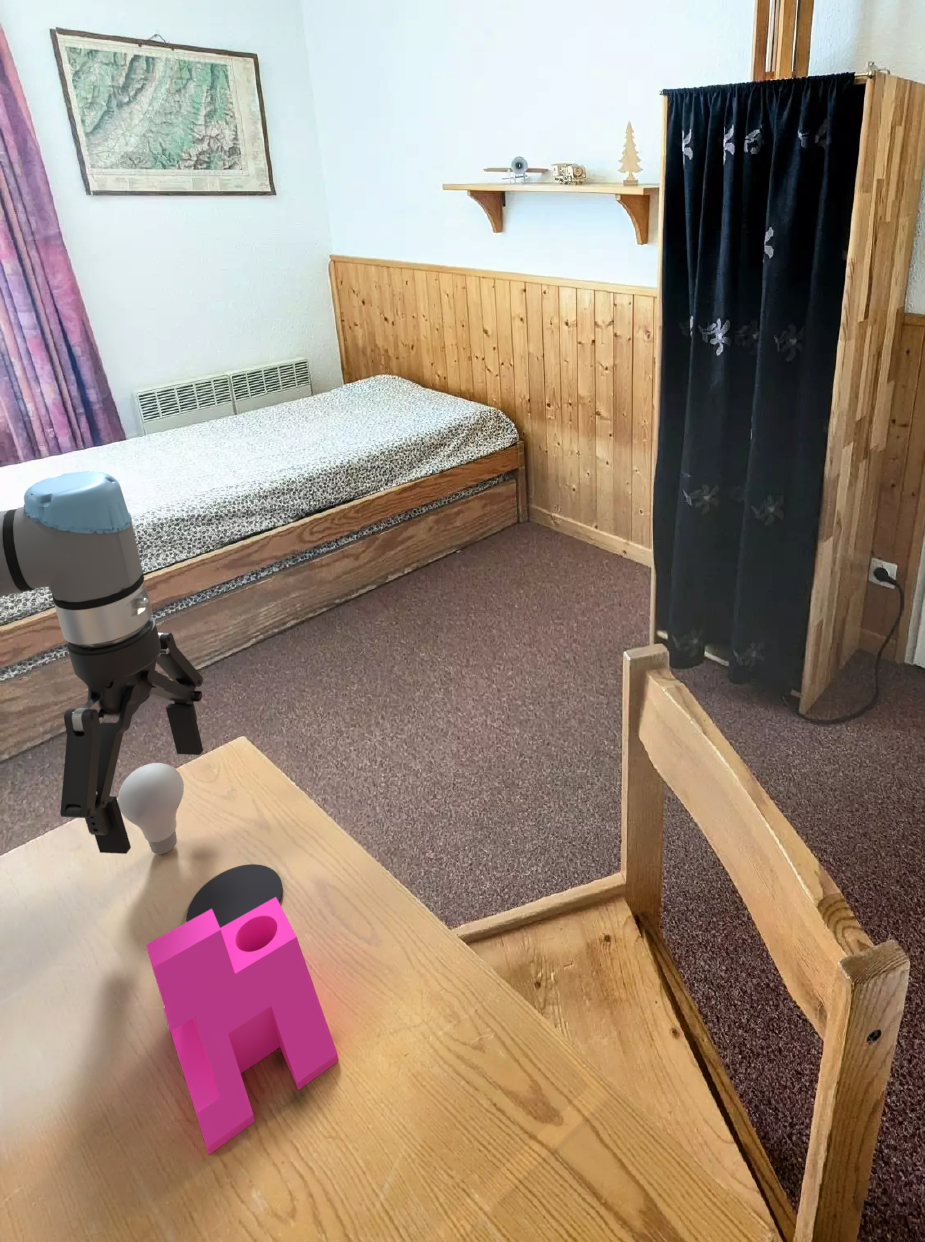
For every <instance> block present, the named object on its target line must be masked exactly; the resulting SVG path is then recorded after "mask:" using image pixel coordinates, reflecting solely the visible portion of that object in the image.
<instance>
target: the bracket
mask: <svg viewBox="0 0 925 1242" xmlns="http://www.w3.org/2000/svg"><path fill="white" fill-rule="evenodd" d="M300 945H301V944H300V941H299V940H298V936H297V934H296V933H295V931H294V928H293V926H292V925H291V923H290V921H289V919H288V917H287V916H286V913H285V912H284V909H283V908H282V905H281V903H280V904H279V902H278V900H277V898H276V897H275V898H273V899H271V900H269V901H268V902H266V903H264V904H262V905H260V906H259V907H257V908H255V909H253V910H251V911H250V912H248V913H246V914H244V915H243V916H241V917H239V918H237V919H235V920H234V921H232V922H230V923H228V924H227V925H225V926H223V927H221V928H220V927H219V924H218V922H217V919H216V917H215V915H214V912H213V910H212V909H210V910H208V911H206V912H205V913H203V914H201V915H199V916H197V917H195V918H194V919H192V920H190V921H188V922H184V923H182V924H181V925H179V926H177V927H175V928H174V929H173V928H172V929H171V930H170V931H168V932H165V933H164V934H162V935H161V936H159V937H157V938H155V939H153V940H151V941H150V942H148V943H146V944H145V947H146V950H147V954H148V958H149V961H150V965H151V967H152V971H153V976H154V978H155V981H156V984H157V988H158V991H159V994H160V997H161V1000H162V1003H163V1011H164V1015H165V1018H166V1023H167V1026H168V1029H169V1033H170V1035H171V1039H172V1043H173V1045H174V1048H175V1051H176V1054H177V1058H178V1061H179V1064H180V1067H181V1071H182V1074H183V1077H184V1080H185V1083H186V1086H187V1089H188V1093H189V1096H190V1099H191V1102H192V1106H193V1109H194V1112H195V1116H196V1118H197V1120H198V1125H199V1128H200V1131H201V1134H202V1137H203V1141H204V1144H205V1147H206V1151H207V1154H208V1155H211V1154H212V1153H214V1152H215V1151H216V1150H218V1149H219V1148H220V1147H222V1146H223V1145H225V1144H227V1142H229V1141H231V1140H232V1139H233V1138H234V1137H236V1136H237V1135H239V1134H240V1133H242V1131H243V1132H244V1130H246V1129H247V1128H248V1127H250V1126H251V1125H252V1124H254V1123H256V1119H255V1115H254V1112H253V1111H254V1110H253V1108H252V1106H251V1102H250V1099H249V1095H248V1093H247V1089H246V1086H245V1083H244V1080H243V1077H242V1074H243V1073H244V1072H246V1071H247V1070H249V1069H250V1068H252V1067H253V1066H255V1064H257V1063H259V1062H261V1060H263V1059H265V1058H266V1057H267V1056H269V1055H270V1054H273V1052H275V1051H276V1050H278V1049H280V1052H281V1053H282V1056H283V1059H284V1061H285V1062H286V1065H287V1067H288V1069H289V1072H290V1074H291V1077H292V1079H293V1081H294V1083H295V1086H296V1088H297V1091H299V1090H301V1089H302V1088H303V1087H305V1086H307V1084H309V1083H310V1082H312V1081H313V1080H315V1079H316V1078H317V1077H318V1076H320V1075H321V1074H323V1073H324V1072H326V1071H327V1070H329V1069H330V1068H331V1067H332V1066H334V1065H335V1064H337V1063H338V1062H339V1054H338V1052H337V1047H336V1046H335V1043H334V1040H333V1037H332V1034H331V1031H330V1028H329V1025H328V1023H327V1020H326V1017H325V1013H324V1011H323V1008H322V1005H321V1003H320V1000H319V996H318V994H317V991H316V988H315V986H314V982H313V979H312V976H311V973H310V971H309V968H308V966H307V963H306V960H305V957H304V953H303V950H302V947H301V946H300Z"/></svg>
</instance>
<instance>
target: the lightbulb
mask: <svg viewBox="0 0 925 1242" xmlns="http://www.w3.org/2000/svg"><path fill="white" fill-rule="evenodd" d="M184 793H185V783H184V780H183V777H182V774H180V772H179V771H178V770H177V769H176V768H175V767H173V766H172V765H169V764H167V763H163V762H152V763H147V764H145V765H142V766H139V767H138V768H136V769H135V770H133V771H131V772H130V774H128V776H127V777H126V778H125V780H124V781H123V782H122V784H121V787H120V789H119V791H118V796H117V801H118V804H119V808H120V811H121V815H122V817H124V819H126V820H127V821H129V822H130V823H132V824H133V825H134V826H136V827H138V828H139V829H140V831H141V832H142V834H143V836H144V839H145V840H146V841H147V842H148V846H149V847H150V851H151V852H152V853H153V854H155V855H162V854H166V853H168V852H170V851H171V850H172V849H174V847H175V846H176V845H177V843H178V842H177V841H178V839H177V838H178V837H177V831H176V829H177V812H178V809H179V807H180V804H181V802H182V799H183V796H184Z"/></svg>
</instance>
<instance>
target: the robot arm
mask: <svg viewBox="0 0 925 1242" xmlns="http://www.w3.org/2000/svg"><path fill="white" fill-rule="evenodd" d="M23 502H24V503H23V506H20V507H17V508H14V509H13V508H12V509H8V510H1V511H0V597H4V596H9V595H13V594H18V593H24V592H30V591H34V590H36V589H41V588H46V587H48V589H49V592H50V593H51V597H52V601H53V605H54V608H55V612H56V616H57V619H58V623H59V627H60V630H61V633H62V637H63V638H64V641H66V649H67V652H68V656H69V659H70V662H71V666H72V669H73V672H74V675H75V676H76V677H77V678H78V679H80V680H81V681H82V682H83V683H84V684H85V685H86V687H87V698H86V699H87V700H86V702H85V703H83V704H82V705H81V706H80V707H79V708H72V707H71V708H67V710H65V712H64V715H63V721H64V722H63V723H64V726H65V727H64V728H65V730H66V743H65V755H64V767H63V777H62V788H61V789H62V790H61V800H60V801H61V802H60V803H61V804H60V811H59V813H60V817H62V818H72V819H84V820H85V823H86V826H87V830H88V832H89V834H90V835H91V836H94V838H95V841H96V844H97V847H98V851H99V853H100V854H103V853H104V854H119V855H121V854H123V855H126V854H128V853H129V851H130V850H131V848H132V846H131V842H130V839H129V835H128V832H127V829H126V826H125V822H124V819H123V814H122V813H121V811H120V808H119V804H118V796H114V795H112V796H111V792H112V786H113V782H114V778H115V773H116V768H117V764H118V759H119V756H120V750H121V747H122V746H121V745H122V741H123V737H124V733H126V732H127V731H128V730H129V729H130V727H131V723H132V718H133V715H135V713H137V711H138V710H139V708H140V706H141V705H142V704H144V703H145V702H147V700H148V699H149V698H150V697H151V696H150V694H153V695H155V696H158V697H160V698H163V699H165V700H168V701H170V702H169V704H167V706H166V707H165V711H166V715H167V718H168V719H167V720H168V723H169V727H170V731H171V734H172V738H173V743H174V747H175V750H176V754H177V755H188V756H189V755H190V756H191V755H192V756H200V755H202V753H203V751H204V747H203V742H202V739H201V733H200V729H199V726H198V722H197V720H198V714H197V712H196V706H195V703H196V702H197V703H199V702H200V701H201V700H202V698H203V692H202V690H197V687H198V688H199V687H200V688H201V687H202V685H203V683H204V678H203V675H202V674H201V673H200V672H199V671H198V669H196V668H195V666H194V665H193V664H192V663H191V662H190V661H189V660H188V658H187V657H186V656H185V654H183V653H182V651H181V650H180V648H178V647H177V643H176V641H175V637H174V634H173V632H172V633H171V632H159V630H158V628H157V623H156V619H155V618H154V617H153V616H152V615H153V608H152V605H151V602H150V598H149V597H150V596H149V593H148V589H147V585H146V581H145V576H144V575H145V574H144V571H143V567H142V562H141V557H140V553H139V549H138V543H137V538H136V534H135V530H134V526H133V521H132V514H131V513H130V512H129V510H128V507H127V504H126V500H125V497H124V494H123V491H122V488H121V484H120V483H119V481H118V480H117V479H116V478H115V477H114V476H112V475H110V474H108V473H105V472H101V471H94V470H93V471H92V470H86V471H85V470H83V471H74V472H67V473H63V474H60V475H58V476H54V477H48V478H45V479H43V480H40V481H38V482H37V481H36V482H35V483H34V484H33V485H31V486H30V487H28V488H27V489H26V491H25V492H24V494H23ZM156 665H158V666H159V667H160V668H161V669H162V670H163V672H165V674H166V675H164V674H163V673H160V672H158V670H156ZM171 702H173V703H171ZM104 716H107V717H108V718H118V720H117V721H116V722H105V721H104Z"/></svg>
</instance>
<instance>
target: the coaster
mask: <svg viewBox="0 0 925 1242" xmlns="http://www.w3.org/2000/svg"><path fill="white" fill-rule="evenodd" d="M283 886H284V885H283V882H282V879H281V877H280V875H279V874H278V872H276V871H275V869H273V868H271V867H269V866H267V865H263V864H255V863H254V864H253V863H249V864H242V865H238V866H234V867H231V868H229V869H227V870H225V871H222V872H220V873H219V874H216V875H215V876H214V877H212V878H211V879H210V880H208V881H207V882H206V883H205V884H203V886H202V887H201V888H199V890H198V891H197V892H196V894H195V895H194V896H193V898H192V899H191V901H190V903H189V905H188V908H187V911H186V917H185V920H186V922H188V921H190V920H192V919H194V918H195V917H197V916H199V915H201V914H203V913H205V912H206V911H208V910H210V909H212V910H213V912H214V915H215V917H216V919H217V922H218V924H219V927H220V928H221V927H223V926H225V925H227V924H228V923H230V922H232V921H234V920H235V919H237V918H239V917H241V916H243V915H244V914H246V913H248V912H250V911H251V910H253V909H255V908H257V907H259V906H260V905H262V904H264V903H266V902H268V901H269V900H271V899H273V898H275V897H276V898H277V900H278V902H279V904H280V905H281V902H282V899H283V893H284V888H283ZM186 922H185V923H186Z"/></svg>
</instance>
